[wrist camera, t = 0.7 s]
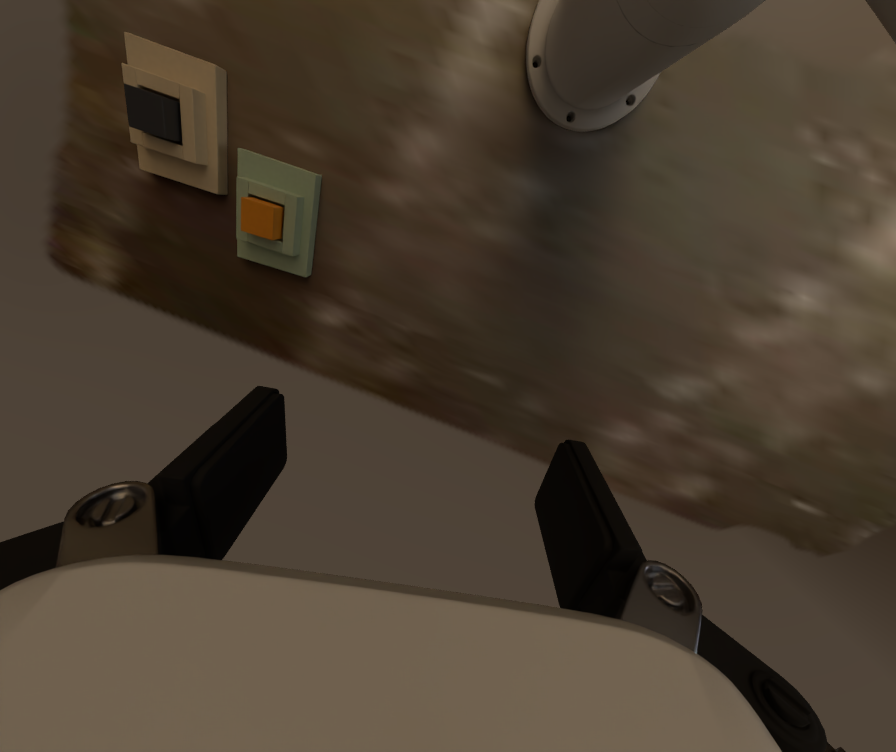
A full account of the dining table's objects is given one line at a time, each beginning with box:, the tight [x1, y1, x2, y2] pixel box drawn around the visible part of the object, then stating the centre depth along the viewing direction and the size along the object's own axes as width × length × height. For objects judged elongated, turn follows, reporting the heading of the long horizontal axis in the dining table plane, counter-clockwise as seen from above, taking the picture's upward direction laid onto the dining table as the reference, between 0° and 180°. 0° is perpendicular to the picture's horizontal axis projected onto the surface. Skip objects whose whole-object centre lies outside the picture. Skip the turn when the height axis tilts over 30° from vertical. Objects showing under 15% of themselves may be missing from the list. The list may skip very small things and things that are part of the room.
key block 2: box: [236, 148, 322, 277], centre depth 36 cm, size 11×8×4 cm
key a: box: [124, 83, 182, 142], centre depth 30 cm, size 3×3×2 cm
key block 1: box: [122, 32, 228, 195], centre depth 32 cm, size 11×8×4 cm
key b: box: [241, 197, 284, 240], centre depth 34 cm, size 3×3×2 cm
